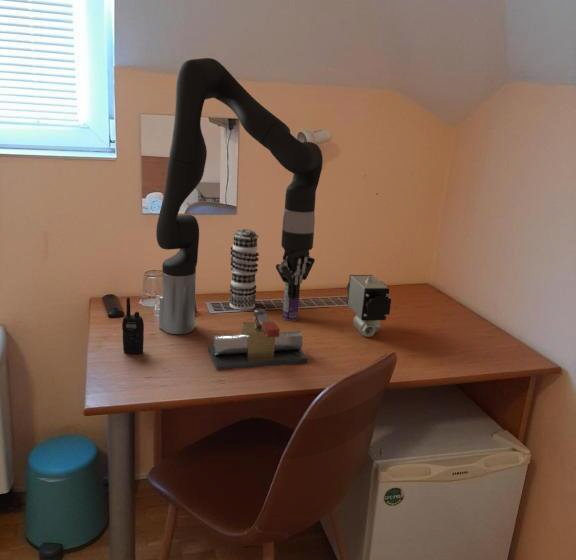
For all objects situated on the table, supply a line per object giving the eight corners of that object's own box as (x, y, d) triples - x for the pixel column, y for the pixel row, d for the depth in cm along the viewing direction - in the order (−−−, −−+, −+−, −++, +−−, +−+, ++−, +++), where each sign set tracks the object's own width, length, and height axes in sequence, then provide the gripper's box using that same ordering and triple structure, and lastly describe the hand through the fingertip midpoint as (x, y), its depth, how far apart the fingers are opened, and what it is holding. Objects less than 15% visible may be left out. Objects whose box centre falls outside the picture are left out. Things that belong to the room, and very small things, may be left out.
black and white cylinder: (222, 303, 193) (225, 229, 186) (246, 299, 199) (249, 226, 191) (237, 312, 186) (241, 235, 179) (261, 307, 192) (266, 232, 185)
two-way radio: (120, 353, 152) (119, 298, 147) (126, 346, 156) (125, 293, 151) (141, 355, 151) (141, 300, 147) (147, 348, 156) (146, 295, 151)
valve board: (216, 369, 146) (217, 330, 143) (208, 350, 157) (209, 312, 154) (307, 363, 154) (310, 325, 150) (293, 344, 164) (296, 309, 161)
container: (298, 316, 186) (302, 271, 182) (296, 321, 182) (299, 275, 177) (284, 314, 187) (287, 269, 182) (281, 320, 182) (284, 273, 178)
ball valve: (390, 343, 170) (397, 285, 165) (362, 344, 168) (369, 285, 163) (367, 321, 187) (374, 267, 181) (342, 321, 184) (347, 267, 179)
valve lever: (252, 316, 153) (252, 308, 152) (263, 315, 154) (263, 308, 153) (267, 337, 140) (267, 329, 139) (279, 336, 141) (279, 329, 140)
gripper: (293, 235, 131) (288, 308, 136) (327, 228, 142) (321, 296, 147) (268, 229, 136) (264, 300, 141) (302, 222, 146) (297, 289, 151)
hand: (293, 298), depth 144 cm, fingers closed
